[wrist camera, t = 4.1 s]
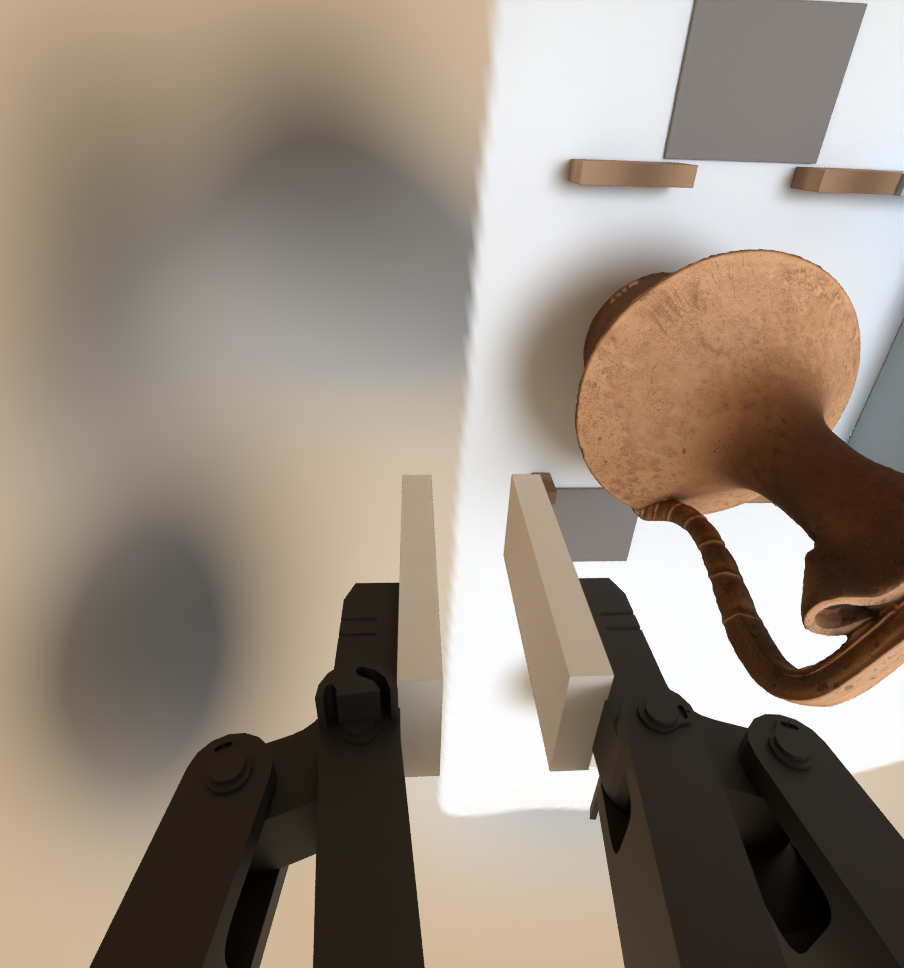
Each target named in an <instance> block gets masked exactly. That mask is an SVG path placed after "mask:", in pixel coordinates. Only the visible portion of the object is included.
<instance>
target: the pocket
mask: <svg viewBox="0 0 904 968" xmlns="http://www.w3.org/2000/svg"><path fill="white" fill-rule="evenodd" d="M881 171H888V170H881ZM891 172H902V173H903V174H902V177H901V179H900V182H899V184H898V187H897V189H896V192H895V194H892V195H899V196H904V171H891ZM848 445H849V446H850V447H852V448H853V449H854V450H855V451H857V452H858V453H860V454H862V455H864V456H865V457H867V458H869V459H870V460H873V461H874V462H876V463H879V464H882V465H884V466H886V467H890V468H892V469H894V470H896V471H898V472H902V473H904V320H903V323H902V325H901V327H900V329H899V332H898V334H897V336H896V338H895V340H894V343H893V345H892V347H891V349H890V352H889V354H888V356H887V358H886V360H885V363H884V365H883V367H882V369H881V371H880V374H879V376H878V378H877V380H876V383H875V385H874V387H873V389H872V391H871V394H870V396H869V398H868V400H867V403H866V405H865V407H864V409H863V411H862V414H861V416H860V418H859V420H858V423H857V425H856V427H855V429H854V431H853V434H852V436H851V438H850V440H849V443H848ZM774 505H775V504H774ZM775 506H777V505H775Z"/></svg>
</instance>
